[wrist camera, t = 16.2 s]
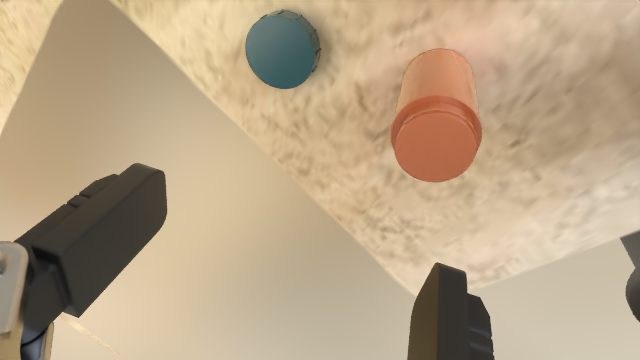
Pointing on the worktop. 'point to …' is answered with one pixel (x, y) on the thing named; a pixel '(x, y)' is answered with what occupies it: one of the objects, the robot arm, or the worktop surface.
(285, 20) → the jar lid
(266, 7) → the worktop surface
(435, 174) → the jam jar
